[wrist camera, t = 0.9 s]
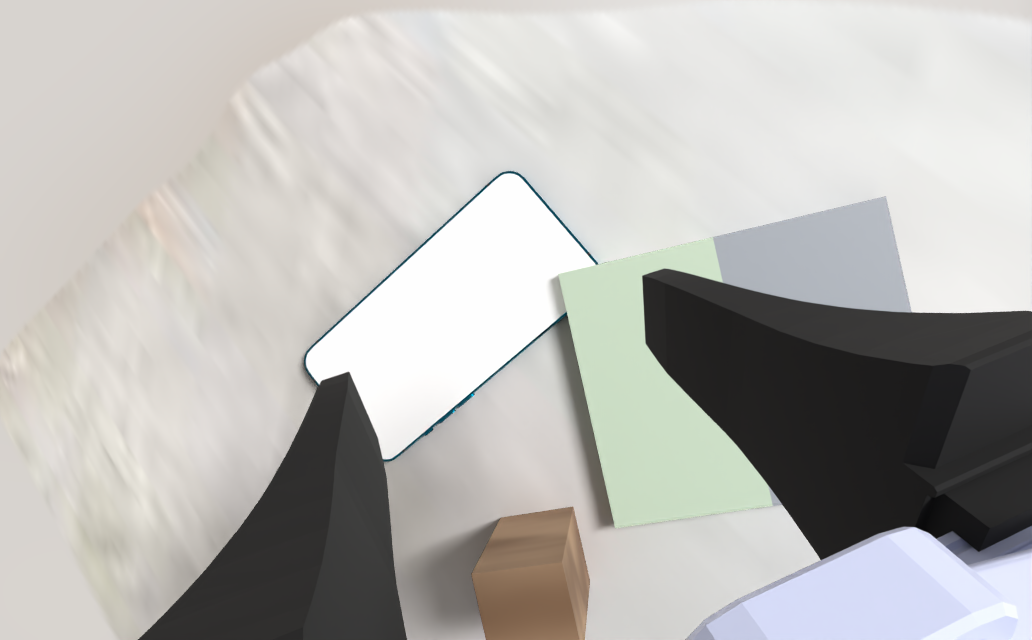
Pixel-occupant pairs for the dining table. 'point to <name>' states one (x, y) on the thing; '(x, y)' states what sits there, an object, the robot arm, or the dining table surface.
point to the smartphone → (453, 312)
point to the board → (660, 400)
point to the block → (533, 578)
